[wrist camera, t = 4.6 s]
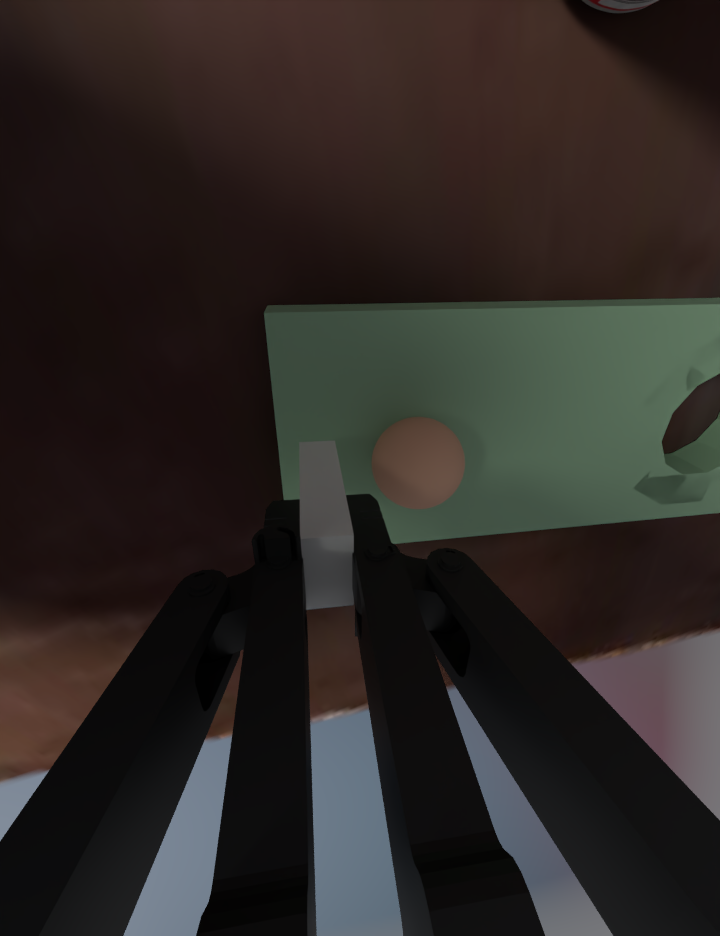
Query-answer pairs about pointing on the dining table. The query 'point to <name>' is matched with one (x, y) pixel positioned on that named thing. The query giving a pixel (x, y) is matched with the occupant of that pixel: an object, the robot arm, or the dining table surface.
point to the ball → (418, 463)
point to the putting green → (506, 405)
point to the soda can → (619, 5)
